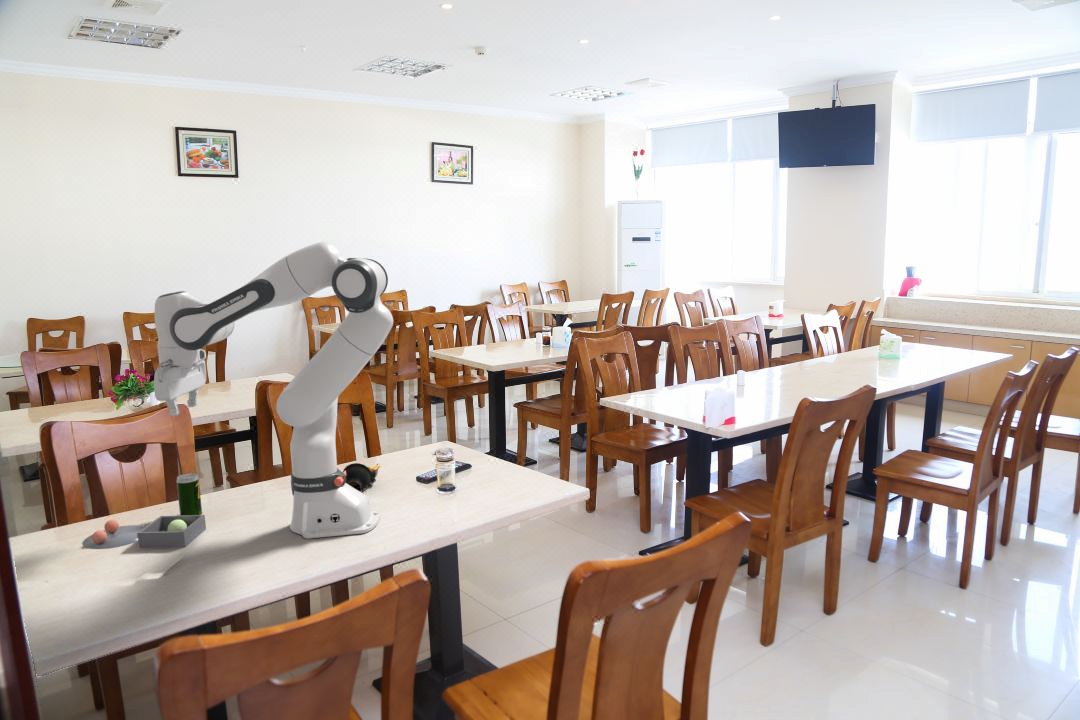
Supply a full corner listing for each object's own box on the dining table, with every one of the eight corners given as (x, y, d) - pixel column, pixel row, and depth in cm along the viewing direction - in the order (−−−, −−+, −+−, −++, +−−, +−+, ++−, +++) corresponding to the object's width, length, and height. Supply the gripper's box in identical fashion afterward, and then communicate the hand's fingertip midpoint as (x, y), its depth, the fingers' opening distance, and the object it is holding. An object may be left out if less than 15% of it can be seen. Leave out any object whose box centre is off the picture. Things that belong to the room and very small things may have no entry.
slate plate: (162, 528, 196) (162, 524, 196) (131, 552, 181) (131, 548, 181) (105, 530, 196) (104, 525, 196) (69, 554, 181) (69, 549, 181)
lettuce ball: (185, 541, 188) (191, 527, 191) (180, 528, 185) (186, 515, 189) (167, 541, 188) (174, 528, 192) (162, 529, 185) (169, 516, 189)
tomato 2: (122, 529, 193) (120, 517, 192) (115, 534, 190) (113, 522, 189) (109, 529, 193) (108, 518, 192) (102, 534, 190) (100, 522, 189)
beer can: (182, 524, 199) (177, 480, 197) (179, 518, 203) (174, 475, 201) (204, 520, 202) (199, 476, 200) (200, 514, 206) (196, 471, 204)
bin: (206, 533, 192) (204, 514, 191) (185, 551, 181) (183, 532, 180) (162, 534, 192) (160, 515, 191) (139, 552, 181) (137, 533, 180)
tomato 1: (110, 540, 186) (108, 528, 186) (103, 545, 183) (101, 533, 182) (97, 540, 186) (96, 528, 186) (89, 546, 183) (88, 533, 182)
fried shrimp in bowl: (332, 481, 216) (345, 445, 232) (352, 509, 221) (364, 472, 237) (360, 470, 215) (371, 435, 231) (379, 498, 220) (389, 461, 235)
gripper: (170, 363, 179) (176, 420, 181) (208, 350, 199) (213, 401, 201) (144, 364, 179) (150, 421, 181) (184, 351, 199) (190, 402, 201)
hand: (183, 410), depth 191 cm, fingers open, 8 cm apart
